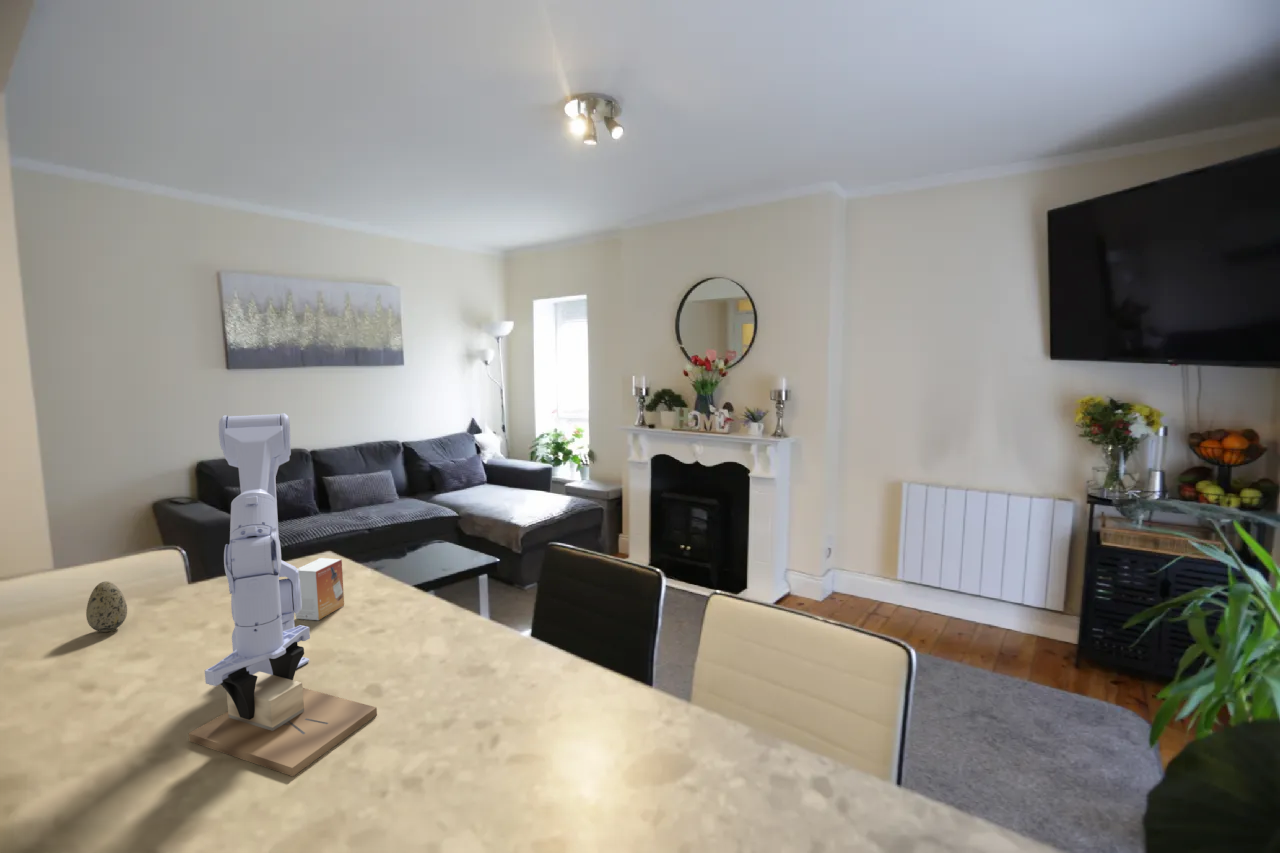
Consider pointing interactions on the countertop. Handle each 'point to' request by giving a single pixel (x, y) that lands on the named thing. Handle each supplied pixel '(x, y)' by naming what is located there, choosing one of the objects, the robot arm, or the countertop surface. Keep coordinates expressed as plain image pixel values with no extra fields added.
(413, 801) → the countertop surface
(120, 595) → the decorative egg
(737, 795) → the countertop surface
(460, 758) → the countertop surface
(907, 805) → the countertop surface
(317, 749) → the oak board
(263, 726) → the block
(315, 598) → the small box
